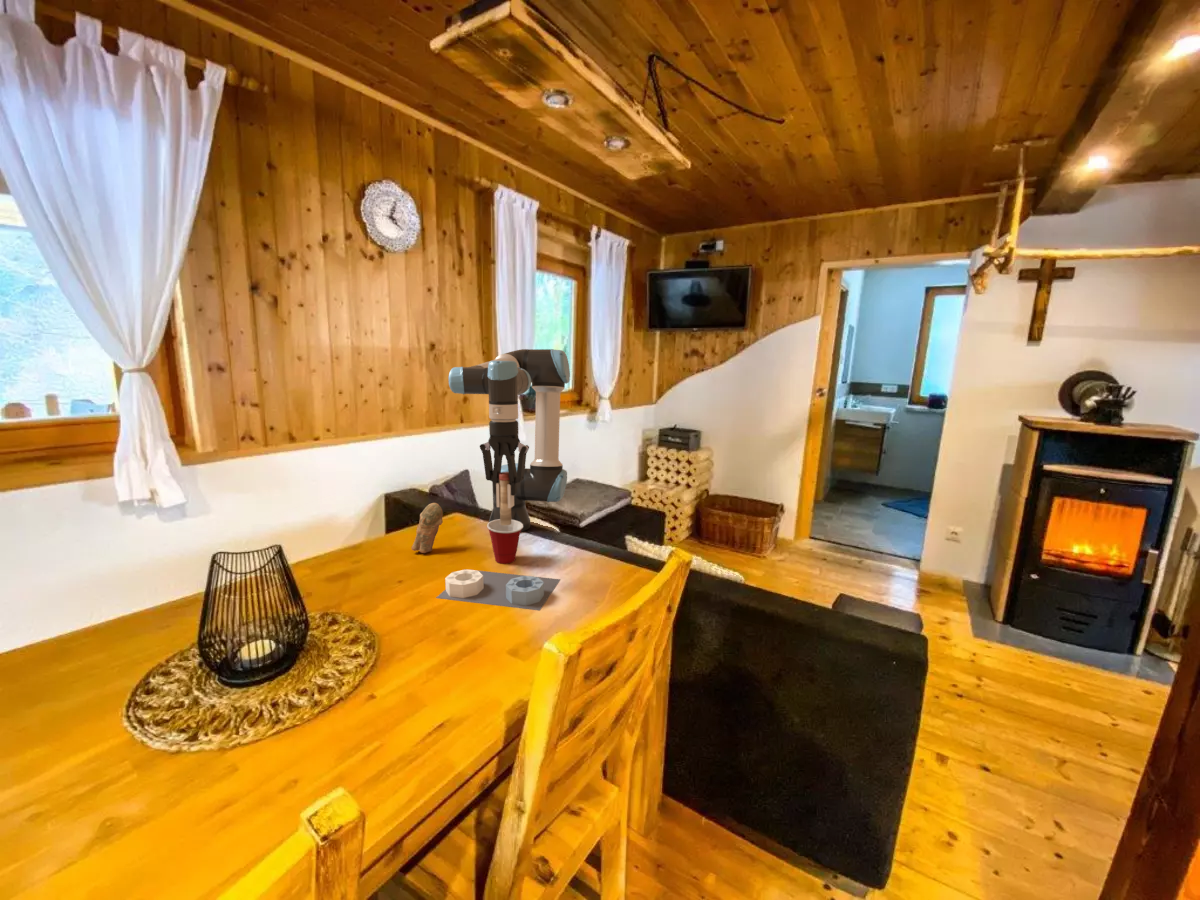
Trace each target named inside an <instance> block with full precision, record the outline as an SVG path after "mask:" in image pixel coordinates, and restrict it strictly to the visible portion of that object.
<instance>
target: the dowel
mask: <svg viewBox="0 0 1200 900" xmlns="http://www.w3.org/2000/svg"><path fill="white" fill-rule="evenodd" d="M509 483H510V479H509V472H501V473H499V488H500V524H501V525H510V524H511V508H508V493H507V484H509Z"/></svg>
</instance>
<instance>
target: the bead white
mask: <svg viewBox="0 0 1200 900" xmlns="http://www.w3.org/2000/svg"><path fill="white" fill-rule="evenodd" d="M479 571H480V570H478V571H476V569H475V570H474V569H469V570H468V569H466V568H465V569H462V570H457V571H452V572H451V573H450V574H448V575H447V576H446V577H445V578H444V580H445V581H444V582H445V583H444V584H445V589H446V592H447V593H448V595H449V596H450V597H458V598H466V597H470V596H474V595H477V594H478V593H479V592H480V591H481V590H482V589H483V588H484V585H483V575H482V574H481V573H480V572H479Z"/></svg>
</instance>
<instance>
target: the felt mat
mask: <svg viewBox="0 0 1200 900" xmlns="http://www.w3.org/2000/svg"><path fill="white" fill-rule="evenodd" d="M467 570H470V569H467ZM475 570H476V569H475ZM476 571H479V572H480V573H481V574H482V575H483V585H484V588H483V589H482V590H481V591H480V592H479V593H478V594H477V595H474V596H470V597H466V598H458V597H450V596H449V595H448V593H447V592H446V588H445V590H443V591H442V592H440V594H439V595H437V596H436V597H435V599H439V600H449V601H457V602H458V601H459V602H466V603H473V604H483V605H491V606H498V607H499V606H500V607H506V608H514V609H516V608H517V609H521V610H522V609H523V610H532V611H541V610H542V608H543V606H544V605H545V604H546V602H547V601H548V599H549V597H550V596H552V595H551V594H553V592H554V590H555V588H556V587H557V585H559V583H560V581H561V578H550V577H542V576H537V577H538V578H539V579H541V580H542V581H543V582H544V596H543V597H542V599H541V600H540V602H537V603H534V604H530V605H526V606H525V605H516V604H511V602H510V601H509V600H508V599H507V598H506V584H507V583H508V582H509V581H510V580H511V579H513V578H517V577H521V576H526V575H523V574H514V573H513V574H512V573H506V572H505V573H504V572H495V571H486V570H485V571H484V570H476ZM531 576H532V575H531ZM532 577H535V576H534V575H533V576H532Z"/></svg>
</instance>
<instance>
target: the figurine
mask: <svg viewBox="0 0 1200 900" xmlns="http://www.w3.org/2000/svg"><path fill="white" fill-rule="evenodd" d="M443 516H444V515H443V509H442V507H441V506H440V505H439V503H437V502H432V503H429V504H428V505H426V506H425V508H424V509H423V510H422V512H420V514H419V521H418V522H419V523H418V525H417V528H416V536H415V539H414V542H413V544H412V546H411V550H412V551H419V553H423V554H426V553H429V552H432V551H433V548H434V547H433V545H434V543H435V540H436V536H437V534H438V532H439V529H440V526H441V525H442V524H443Z"/></svg>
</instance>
